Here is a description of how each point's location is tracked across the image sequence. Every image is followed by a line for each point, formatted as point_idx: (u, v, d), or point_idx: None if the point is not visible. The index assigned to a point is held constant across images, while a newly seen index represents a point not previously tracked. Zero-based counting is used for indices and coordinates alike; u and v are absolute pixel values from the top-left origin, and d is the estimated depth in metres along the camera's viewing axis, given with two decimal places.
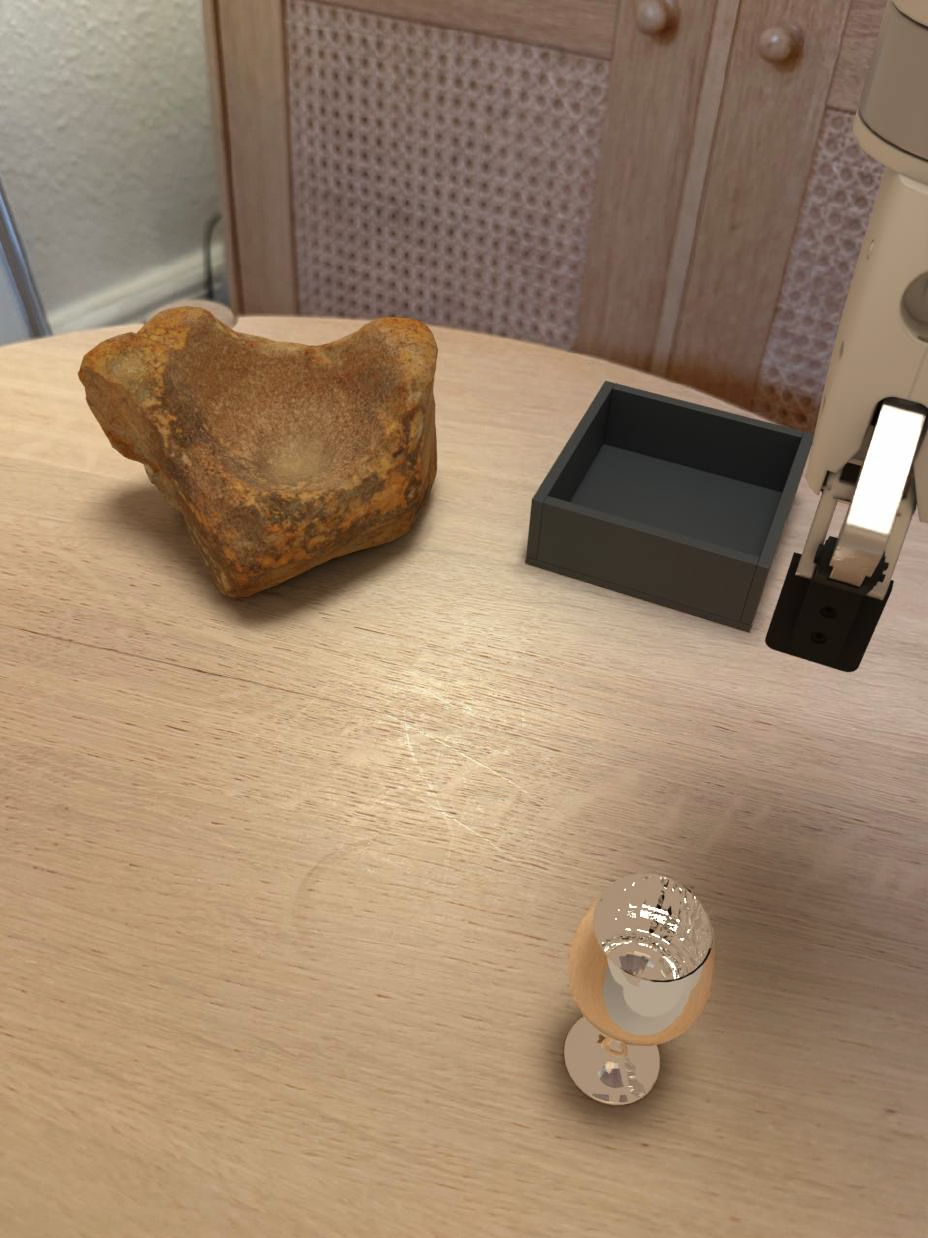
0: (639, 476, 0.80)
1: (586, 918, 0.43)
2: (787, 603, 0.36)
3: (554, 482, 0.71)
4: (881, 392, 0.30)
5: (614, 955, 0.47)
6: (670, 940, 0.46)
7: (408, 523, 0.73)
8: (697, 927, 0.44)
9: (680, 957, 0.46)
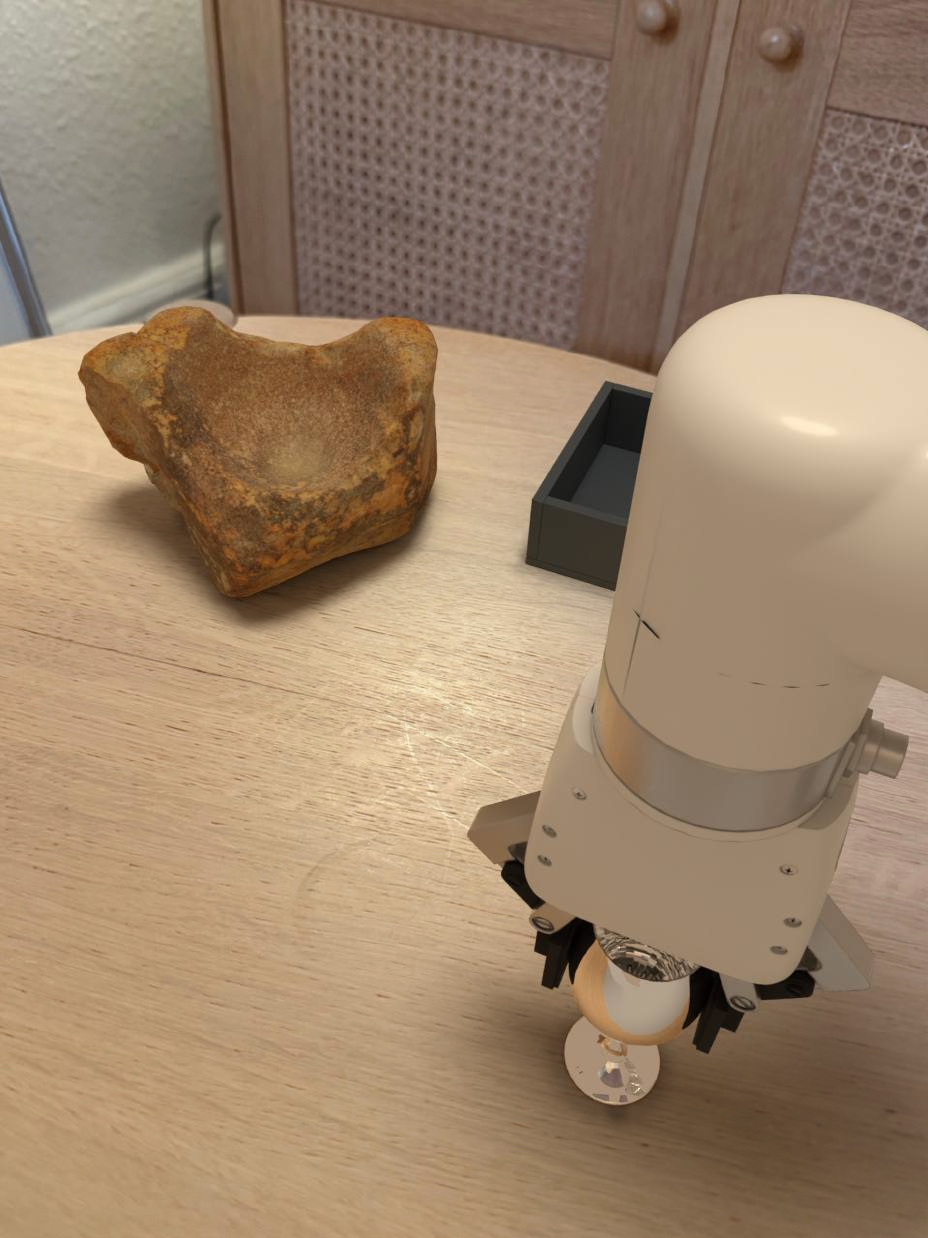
0: None
1: None
2: None
3: (554, 482, 0.71)
4: None
5: (614, 955, 0.47)
6: None
7: (408, 523, 0.73)
8: None
9: None
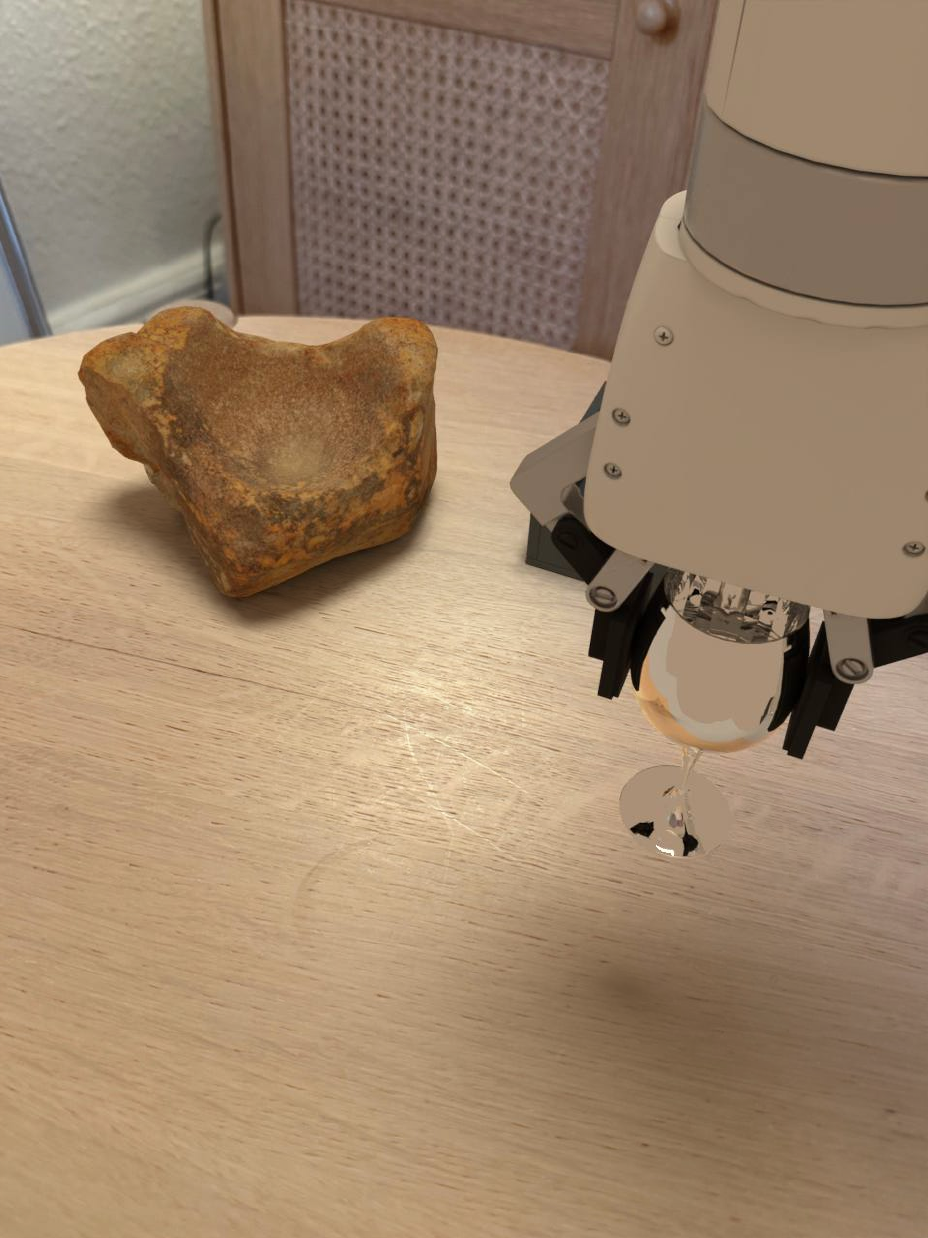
0: None
1: (653, 594, 0.35)
2: None
3: None
4: None
5: None
6: None
7: (408, 523, 0.73)
8: (783, 616, 0.37)
9: None
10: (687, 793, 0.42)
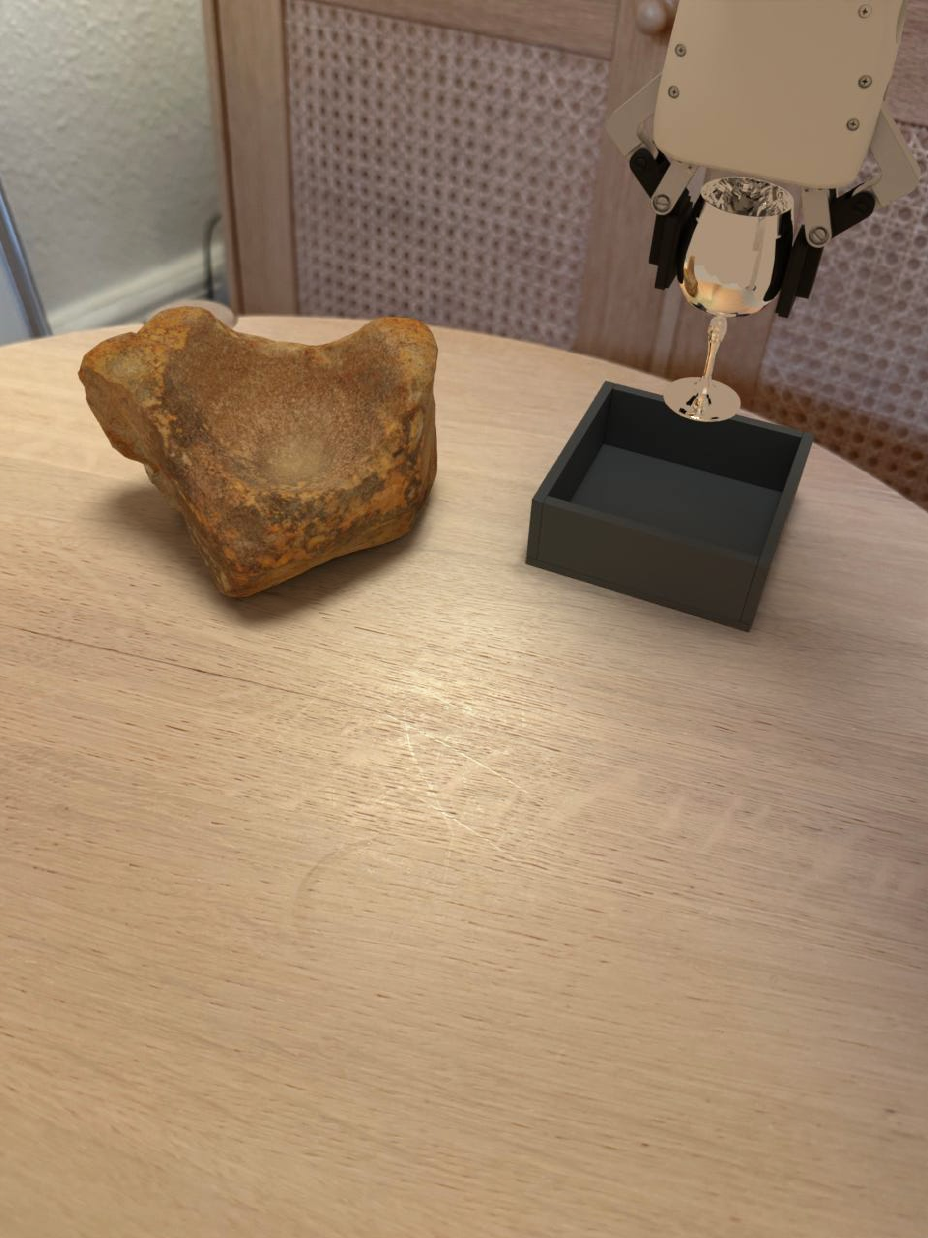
0: (639, 476, 0.80)
1: None
2: (798, 278, 0.55)
3: (554, 482, 0.71)
4: (885, 86, 0.48)
5: None
6: None
7: (408, 523, 0.73)
8: None
9: None
10: (710, 379, 0.62)
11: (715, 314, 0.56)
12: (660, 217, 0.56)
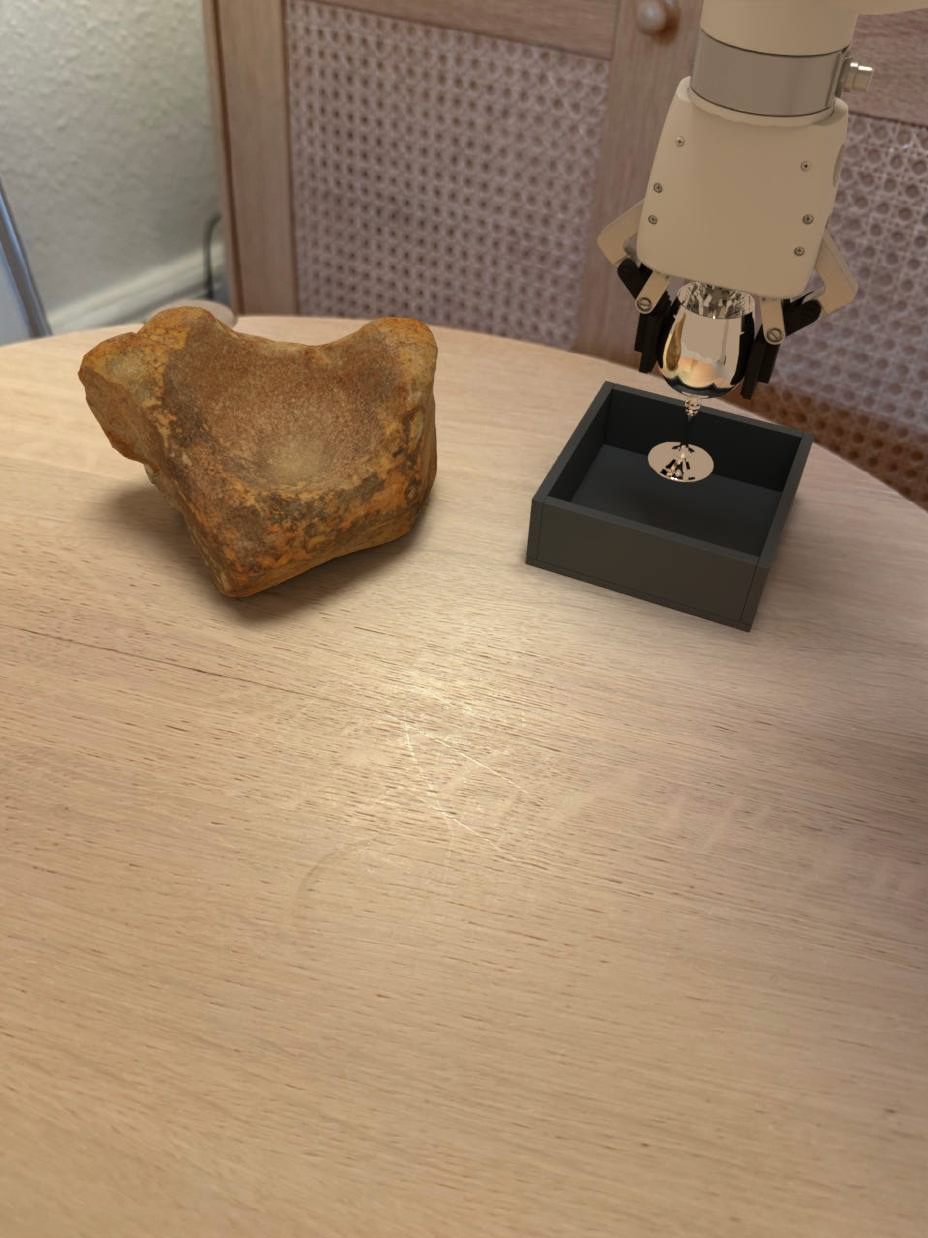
0: (639, 476, 0.80)
1: (671, 305, 0.66)
2: (759, 368, 0.65)
3: (554, 482, 0.71)
4: (826, 220, 0.58)
5: None
6: None
7: (408, 523, 0.73)
8: None
9: None
10: (688, 446, 0.72)
11: (689, 395, 0.67)
12: (643, 314, 0.66)
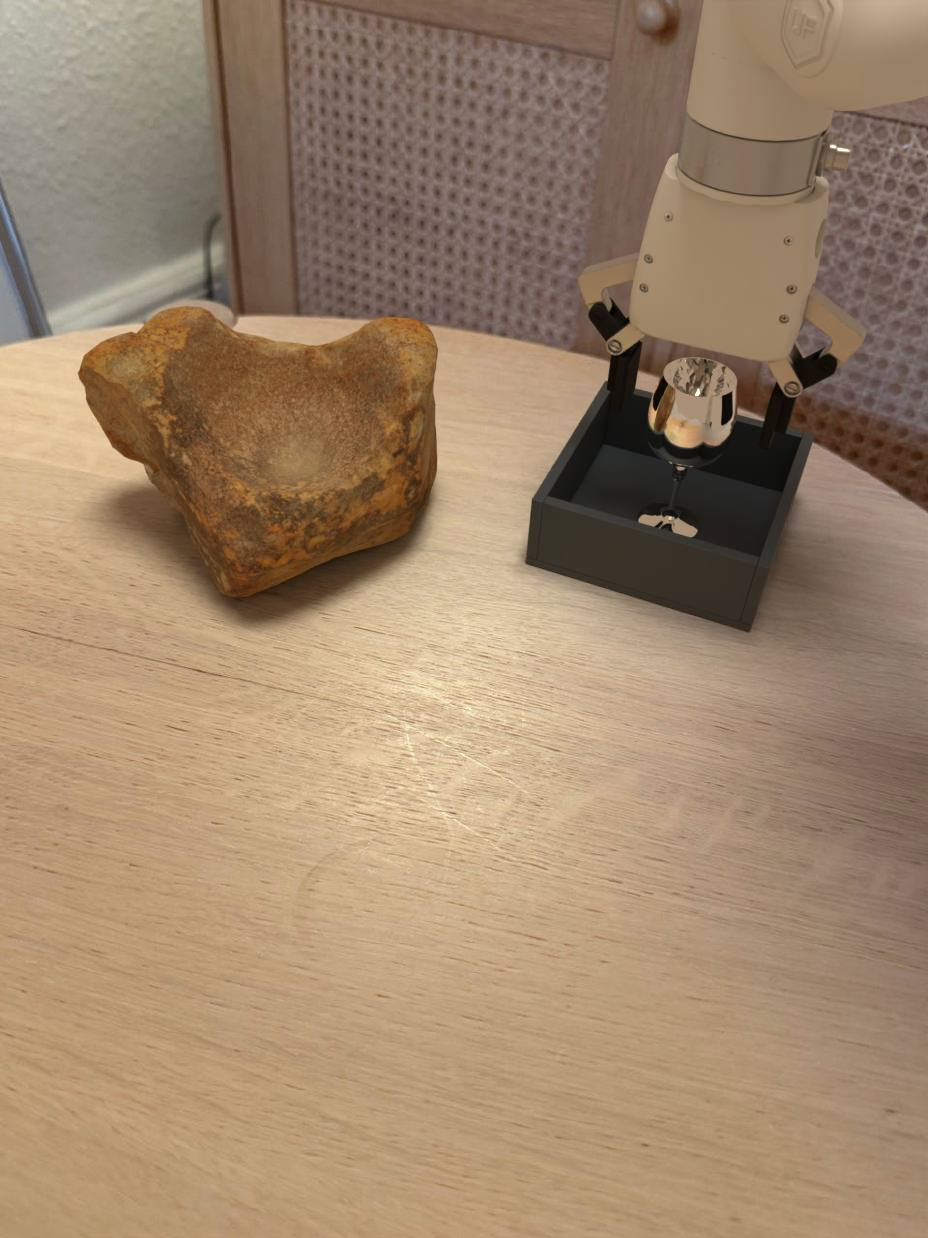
0: (639, 476, 0.80)
1: None
2: (776, 419, 0.66)
3: (554, 482, 0.71)
4: (809, 289, 0.61)
5: None
6: None
7: (408, 523, 0.73)
8: None
9: None
10: (675, 508, 0.76)
11: (676, 465, 0.71)
12: (614, 356, 0.69)
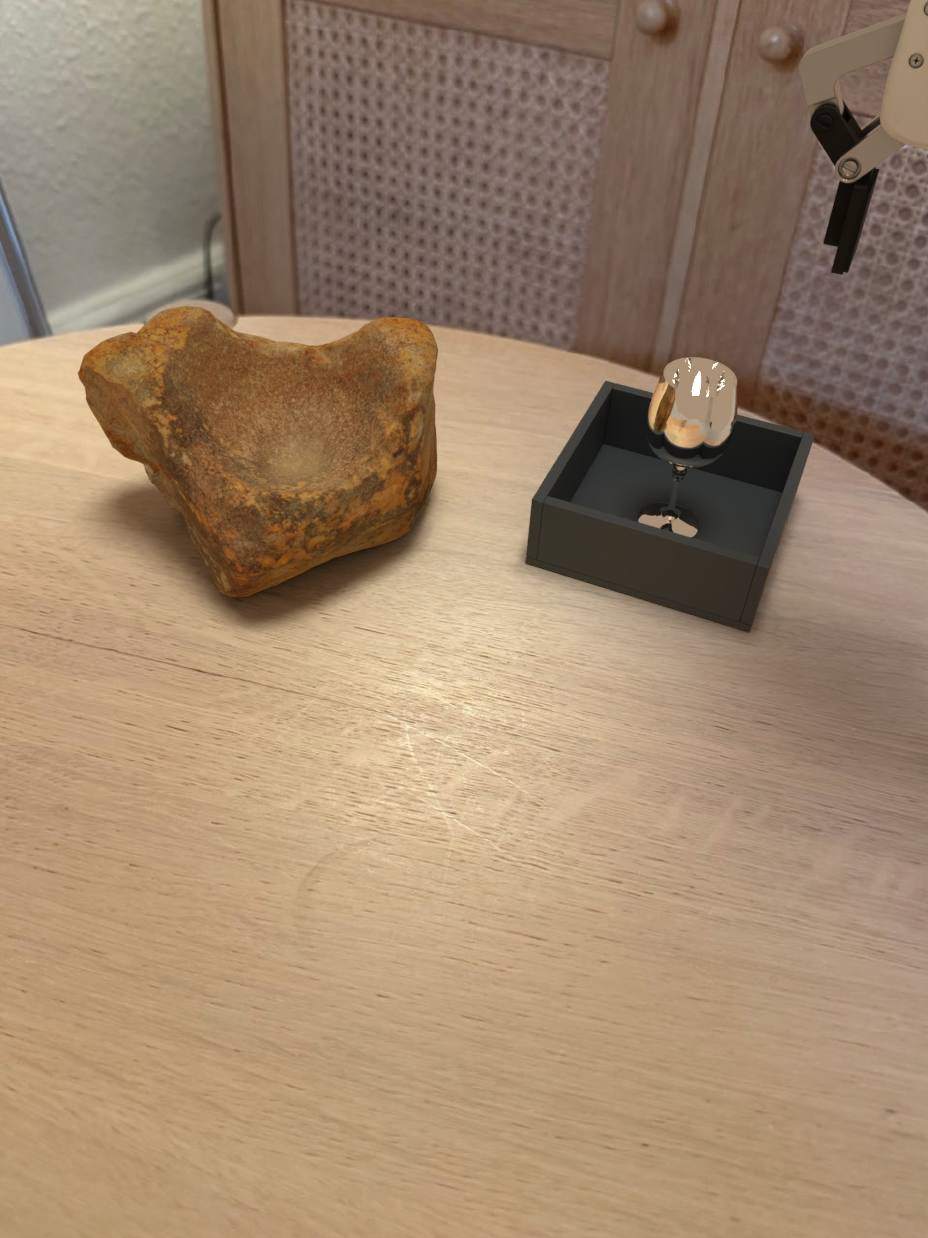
0: (639, 476, 0.80)
1: None
2: None
3: (554, 482, 0.71)
4: None
5: None
6: None
7: (408, 523, 0.73)
8: None
9: None
10: (675, 508, 0.76)
11: (676, 465, 0.71)
12: (844, 186, 0.47)
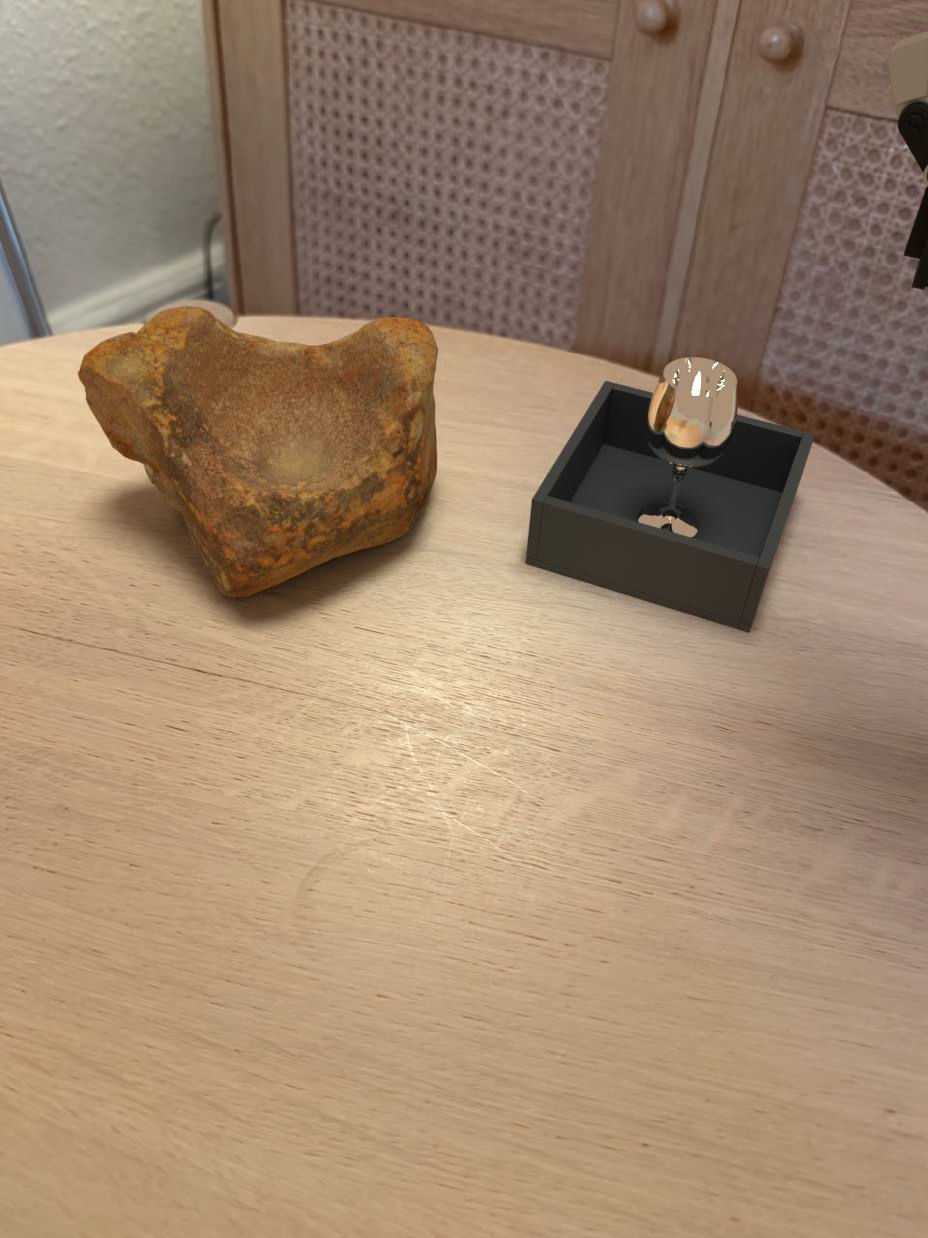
0: (639, 476, 0.80)
1: None
2: None
3: (554, 482, 0.71)
4: None
5: None
6: None
7: (408, 523, 0.73)
8: None
9: None
10: (675, 508, 0.76)
11: (676, 465, 0.71)
12: None
